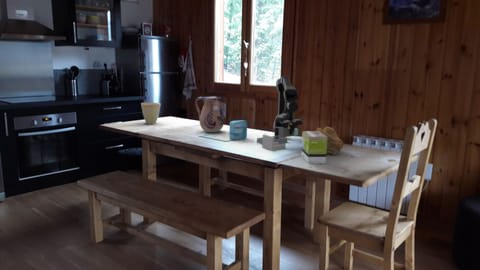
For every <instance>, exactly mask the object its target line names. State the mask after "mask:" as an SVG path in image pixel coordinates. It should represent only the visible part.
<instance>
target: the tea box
mask: <svg viewBox="0 0 480 270" xmlns="http://www.w3.org/2000/svg"><path fill="white" fill-rule="evenodd" d="M301 133H302V134H301V135H302V136H301V157H302V158H303V159H304V161H306V163H307V164H308V163H321V164H326V161H327V154H326V151H327V136H325V135H324V134H322V133H321V132H320V131H316V130H315V131H314V130H313V131H312V130H307V131H305V130H304V131H302V132H301Z"/></svg>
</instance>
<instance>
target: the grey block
mask: <svg viewBox="0 0 480 270" xmlns="http://www.w3.org/2000/svg"><path fill="white" fill-rule="evenodd" d="M272 136H273V135H267V134H262V137H263V143H262V144H261V146H262V148H263V149H265V150H270V151H272V152H273V151H276V150H282V149H286V147H287V146H286V145H287V144H286V143H279V142H274V137H272Z"/></svg>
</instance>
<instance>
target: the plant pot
mask: <svg viewBox="0 0 480 270" xmlns="http://www.w3.org/2000/svg"><path fill="white" fill-rule="evenodd" d="M160 109H161V103H159V102H141V110H142V115H143V119H144V121H145V123H146V125H147V124H148V125H156V124H157V121H158V117H159V114H160Z"/></svg>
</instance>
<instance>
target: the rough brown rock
mask: <svg viewBox="0 0 480 270" xmlns="http://www.w3.org/2000/svg"><path fill="white" fill-rule="evenodd" d="M315 131H320V132H321V133H322V134H324V135H325V136H327V151H326V155H327V154H331V155H332V156H336V155H339V152H340V151H341V150H342V149H343V147H344V141H343V140H342V139H341V138H340V137H339V135H338V134H337V131H336V130H335V129H334V128H333V127H330V126H325V127H324V128H323V129H322V128H321V127H317V128H316V130H315Z"/></svg>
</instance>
